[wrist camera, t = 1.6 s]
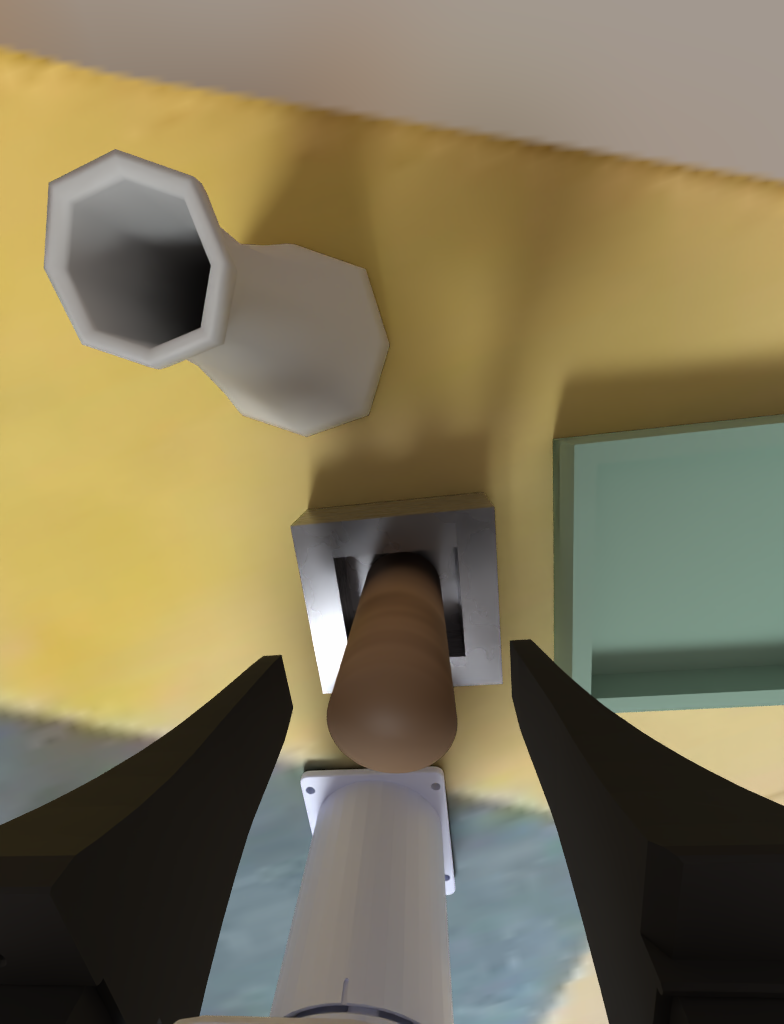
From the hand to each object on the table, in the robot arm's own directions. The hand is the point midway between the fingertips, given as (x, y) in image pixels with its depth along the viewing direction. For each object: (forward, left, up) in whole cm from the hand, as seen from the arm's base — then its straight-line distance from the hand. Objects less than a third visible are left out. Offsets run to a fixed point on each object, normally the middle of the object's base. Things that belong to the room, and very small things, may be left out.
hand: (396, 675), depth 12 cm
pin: (0, 0, -6) cm, 6 cm away
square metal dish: (0, 0, -7) cm, 7 cm away
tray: (0, -13, -7) cm, 15 cm away
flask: (+11, +3, -7) cm, 13 cm away
